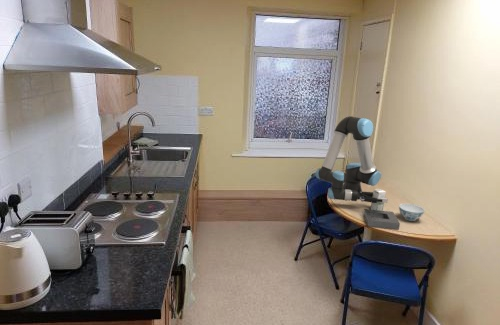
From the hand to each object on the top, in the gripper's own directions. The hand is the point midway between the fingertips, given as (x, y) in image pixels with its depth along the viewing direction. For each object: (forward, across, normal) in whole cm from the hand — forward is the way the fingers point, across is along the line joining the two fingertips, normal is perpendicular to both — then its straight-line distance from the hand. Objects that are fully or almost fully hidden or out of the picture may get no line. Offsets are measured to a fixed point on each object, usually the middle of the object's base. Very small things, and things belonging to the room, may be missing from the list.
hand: (386, 198), depth 232 cm
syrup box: (-5, 0, -9) cm, 10 cm away
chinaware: (+14, +9, -9) cm, 19 cm away
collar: (-6, +19, -9) cm, 22 cm away
